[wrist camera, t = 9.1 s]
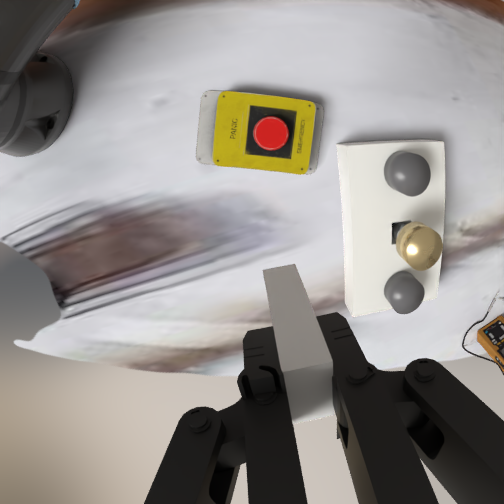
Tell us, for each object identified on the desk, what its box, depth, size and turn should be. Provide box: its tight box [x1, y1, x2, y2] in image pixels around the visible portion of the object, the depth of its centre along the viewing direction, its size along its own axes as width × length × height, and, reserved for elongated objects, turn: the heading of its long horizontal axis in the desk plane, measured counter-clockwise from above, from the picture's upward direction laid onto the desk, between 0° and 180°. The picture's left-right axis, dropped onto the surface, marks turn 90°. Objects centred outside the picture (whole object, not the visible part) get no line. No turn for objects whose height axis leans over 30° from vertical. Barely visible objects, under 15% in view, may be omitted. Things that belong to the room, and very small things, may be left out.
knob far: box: [384, 271, 425, 314], centre depth 41 cm, size 5×5×7 cm
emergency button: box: [196, 91, 324, 175], centre depth 35 cm, size 9×4×15 cm
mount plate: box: [336, 139, 445, 317], centre depth 40 cm, size 23×14×4 cm, turn 8°
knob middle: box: [392, 221, 443, 271], centre depth 35 cm, size 5×5×7 cm
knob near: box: [384, 151, 431, 197], centre depth 35 cm, size 5×5×7 cm
